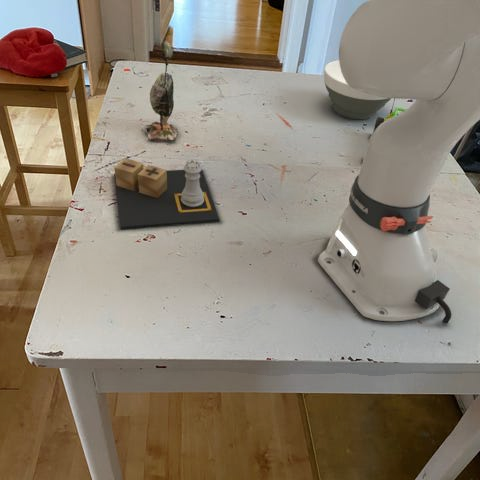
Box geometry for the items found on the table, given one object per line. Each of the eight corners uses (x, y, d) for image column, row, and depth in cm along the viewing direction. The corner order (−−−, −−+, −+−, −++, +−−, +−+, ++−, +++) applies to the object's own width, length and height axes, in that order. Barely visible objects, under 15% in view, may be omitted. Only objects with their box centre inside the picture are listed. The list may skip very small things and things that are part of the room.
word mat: (219, 221, 88) (219, 218, 87) (120, 229, 84) (120, 226, 83) (201, 171, 99) (201, 168, 99) (114, 176, 96) (113, 172, 95)
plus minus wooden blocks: (157, 198, 90) (156, 179, 87) (116, 185, 92) (113, 166, 89) (167, 188, 93) (166, 169, 90) (127, 176, 95) (125, 157, 92)
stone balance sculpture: (184, 123, 113) (183, 30, 99) (174, 145, 106) (171, 48, 91) (151, 119, 114) (145, 25, 99) (138, 141, 106) (130, 42, 91)
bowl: (308, 95, 131) (315, 58, 124) (373, 95, 134) (383, 59, 127) (330, 128, 118) (339, 89, 111) (402, 127, 121) (415, 89, 114)
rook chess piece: (178, 206, 89) (178, 168, 83) (183, 194, 92) (182, 155, 86) (202, 209, 89) (203, 171, 83) (205, 196, 92) (206, 158, 86)
